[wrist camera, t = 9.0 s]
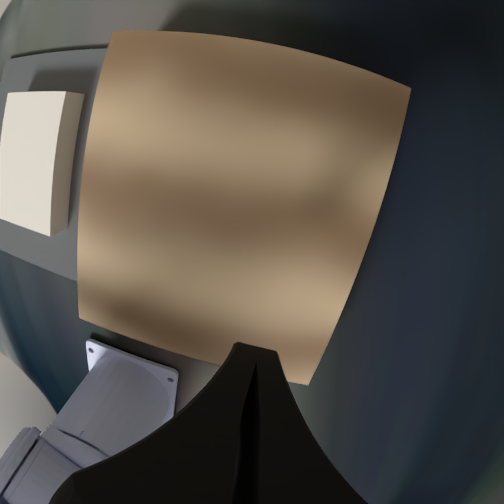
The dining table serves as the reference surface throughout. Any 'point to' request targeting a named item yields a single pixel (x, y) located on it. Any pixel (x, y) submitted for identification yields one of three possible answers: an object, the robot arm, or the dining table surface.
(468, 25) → the dining table surface
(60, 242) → the charcoal mat
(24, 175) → the cream tile
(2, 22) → the dining table surface
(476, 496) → the dining table surface
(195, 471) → the robot arm
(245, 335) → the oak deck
